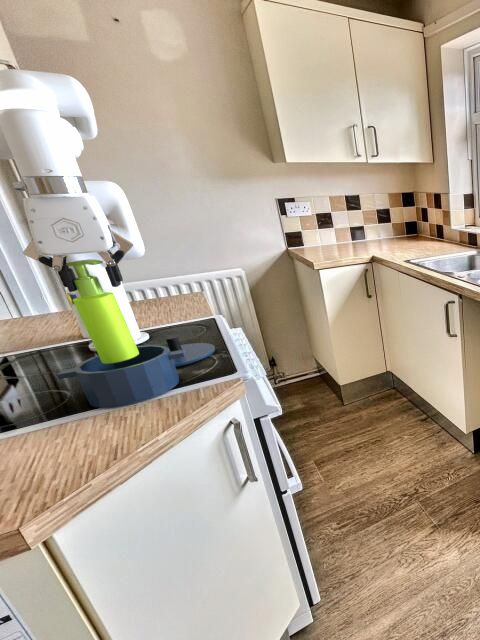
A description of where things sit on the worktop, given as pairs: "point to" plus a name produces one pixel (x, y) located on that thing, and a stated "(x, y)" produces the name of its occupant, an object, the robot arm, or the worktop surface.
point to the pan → (127, 377)
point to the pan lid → (189, 350)
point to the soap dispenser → (102, 316)
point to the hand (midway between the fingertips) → (96, 287)
